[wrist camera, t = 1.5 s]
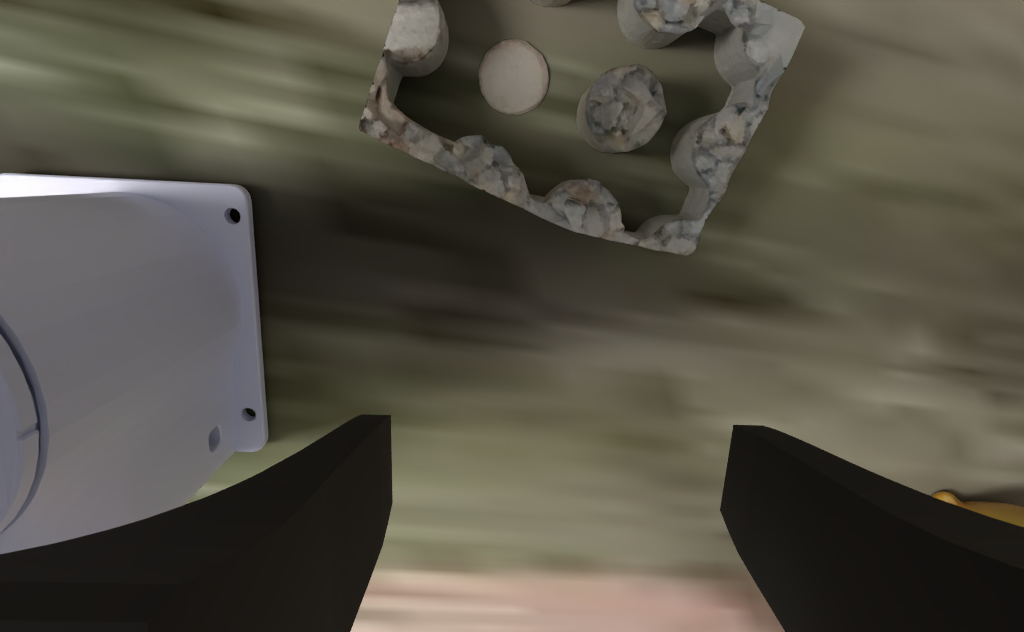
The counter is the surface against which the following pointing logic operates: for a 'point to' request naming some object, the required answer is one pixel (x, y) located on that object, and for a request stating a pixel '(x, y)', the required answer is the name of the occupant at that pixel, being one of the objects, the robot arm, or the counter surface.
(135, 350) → the robot arm
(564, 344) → the counter surface
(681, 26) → the egg carton
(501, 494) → the counter surface
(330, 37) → the counter surface
